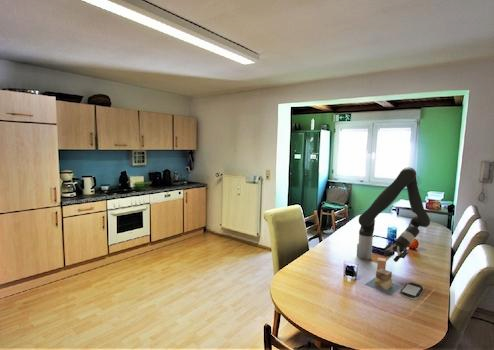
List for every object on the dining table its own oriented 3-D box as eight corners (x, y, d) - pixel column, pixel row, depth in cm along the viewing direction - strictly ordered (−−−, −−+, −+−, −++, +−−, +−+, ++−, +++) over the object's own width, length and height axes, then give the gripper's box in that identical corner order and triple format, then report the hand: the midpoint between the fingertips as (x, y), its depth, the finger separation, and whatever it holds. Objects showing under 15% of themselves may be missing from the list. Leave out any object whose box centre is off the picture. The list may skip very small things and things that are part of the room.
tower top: (376, 277, 159) (376, 271, 159) (380, 274, 163) (381, 268, 163) (386, 281, 155) (387, 275, 154) (391, 278, 159) (391, 271, 158)
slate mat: (364, 285, 160) (364, 284, 160) (376, 278, 170) (376, 276, 170) (390, 296, 149) (390, 295, 149) (402, 287, 159) (402, 286, 158)
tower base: (374, 285, 160) (374, 277, 159) (379, 281, 164) (380, 274, 164) (386, 289, 155) (387, 282, 154) (391, 286, 159) (392, 278, 159)
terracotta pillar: (376, 275, 174) (377, 260, 173) (376, 272, 178) (377, 257, 177) (384, 276, 172) (386, 261, 171) (384, 273, 176) (385, 258, 175)
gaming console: (416, 303, 144) (416, 299, 143) (397, 296, 150) (397, 292, 150) (425, 290, 157) (425, 285, 157) (407, 284, 164) (408, 280, 163)
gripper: (393, 232, 183) (378, 250, 181) (411, 239, 169) (394, 259, 168) (399, 239, 185) (384, 257, 183) (417, 247, 171) (401, 266, 170)
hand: (389, 258), depth 176 cm, fingers open, 8 cm apart
